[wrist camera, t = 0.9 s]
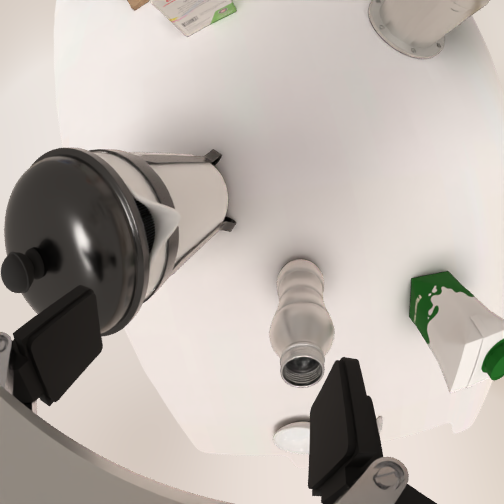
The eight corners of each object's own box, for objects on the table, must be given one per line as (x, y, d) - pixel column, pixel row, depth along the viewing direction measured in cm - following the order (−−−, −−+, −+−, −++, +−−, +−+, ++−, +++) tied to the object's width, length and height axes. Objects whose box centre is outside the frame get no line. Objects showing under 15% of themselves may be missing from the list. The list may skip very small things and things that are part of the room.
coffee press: (176, 120, 35) (-19, 83, 6) (265, 188, 36) (169, 276, 8) (119, 214, 40) (-45, 289, 12) (194, 278, 42) (74, 432, 14)
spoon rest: (276, 442, 53) (273, 466, 46) (271, 414, 50) (268, 441, 43) (375, 433, 49) (380, 456, 42) (384, 403, 45) (391, 429, 39)
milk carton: (447, 311, 37) (504, 386, 19) (402, 322, 39) (449, 411, 20) (452, 264, 35) (527, 328, 16) (405, 273, 37) (470, 353, 18)
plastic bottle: (279, 298, 41) (266, 400, 22) (275, 255, 39) (258, 341, 20) (322, 296, 40) (339, 397, 21) (321, 252, 38) (344, 336, 19)
